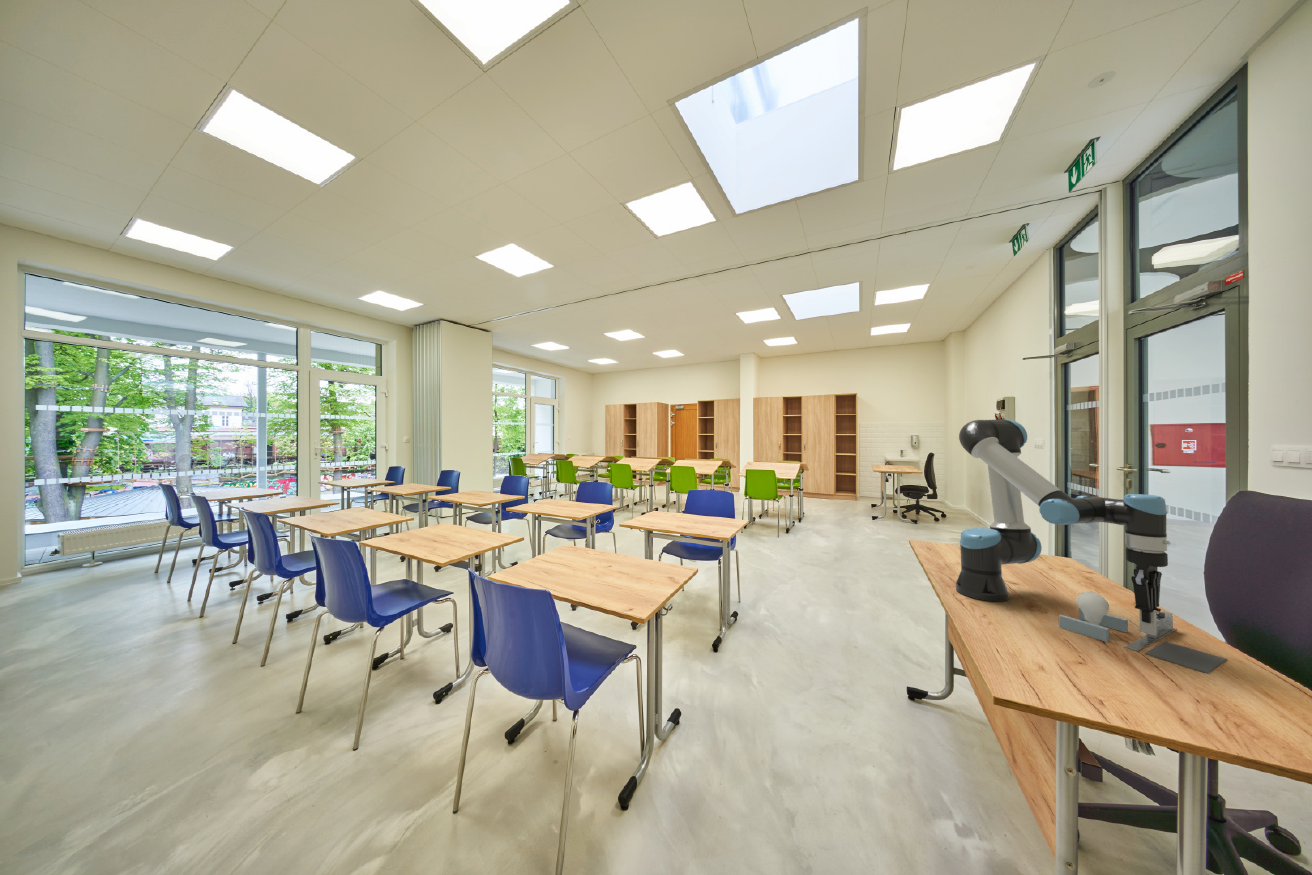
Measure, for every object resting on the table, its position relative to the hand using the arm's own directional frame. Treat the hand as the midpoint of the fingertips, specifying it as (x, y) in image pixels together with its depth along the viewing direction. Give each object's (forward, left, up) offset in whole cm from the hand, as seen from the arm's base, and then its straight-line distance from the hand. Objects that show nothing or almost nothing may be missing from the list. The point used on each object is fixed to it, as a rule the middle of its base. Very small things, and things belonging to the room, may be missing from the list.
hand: (1148, 633), depth 113 cm
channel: (-9, -5, -2) cm, 11 cm away
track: (0, +2, -2) cm, 3 cm away
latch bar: (0, +8, -2) cm, 8 cm away
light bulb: (-9, -5, -2) cm, 11 cm away
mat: (+8, -5, -2) cm, 9 cm away
